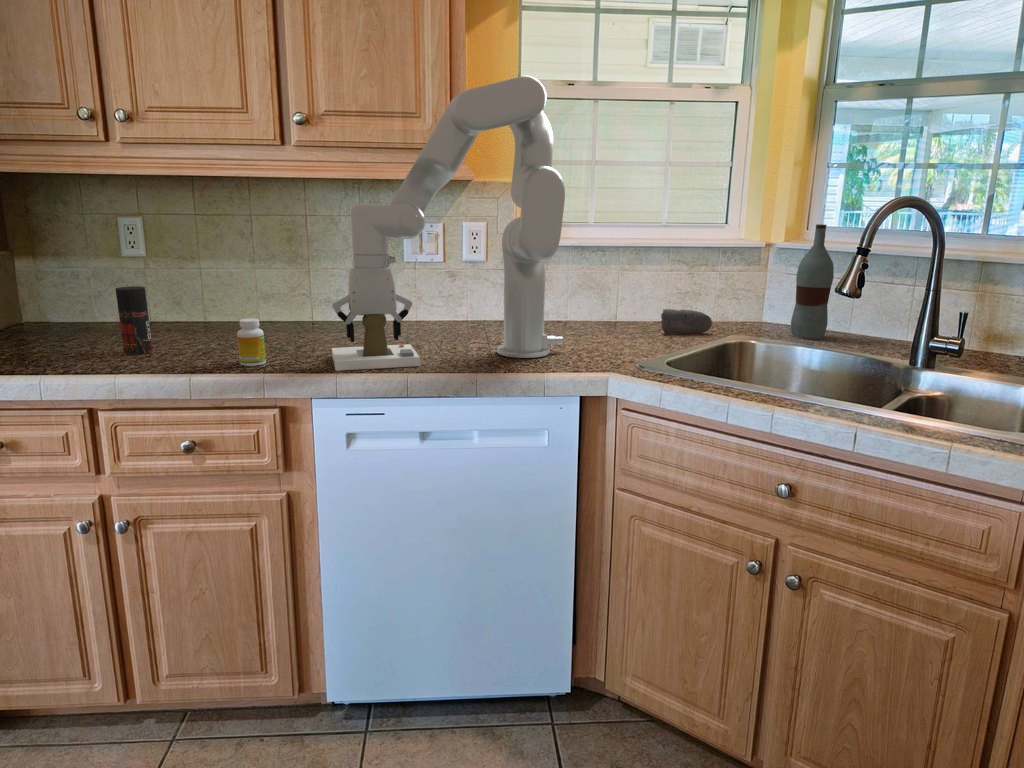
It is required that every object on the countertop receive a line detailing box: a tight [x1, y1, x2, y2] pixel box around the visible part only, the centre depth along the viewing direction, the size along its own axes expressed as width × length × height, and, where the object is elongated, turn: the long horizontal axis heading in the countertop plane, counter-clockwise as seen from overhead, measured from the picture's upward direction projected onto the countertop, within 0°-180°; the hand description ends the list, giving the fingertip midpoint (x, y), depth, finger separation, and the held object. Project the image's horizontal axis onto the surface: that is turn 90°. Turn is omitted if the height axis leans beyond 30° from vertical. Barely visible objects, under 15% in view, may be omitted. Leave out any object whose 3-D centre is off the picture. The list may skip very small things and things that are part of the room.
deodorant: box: [115, 285, 154, 356], centre depth 159 cm, size 6×6×15 cm
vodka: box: [790, 223, 835, 340], centre depth 185 cm, size 9×9×30 cm
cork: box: [361, 315, 389, 357], centre depth 154 cm, size 6×6×11 cm
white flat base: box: [331, 343, 421, 372], centre depth 155 cm, size 18×14×3 cm
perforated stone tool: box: [660, 308, 713, 335], centre depth 191 cm, size 15×5×7 cm, turn 94°
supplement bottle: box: [236, 318, 267, 367], centre depth 150 cm, size 5×5×10 cm
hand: (374, 340), depth 154 cm, fingers open, 9 cm apart
